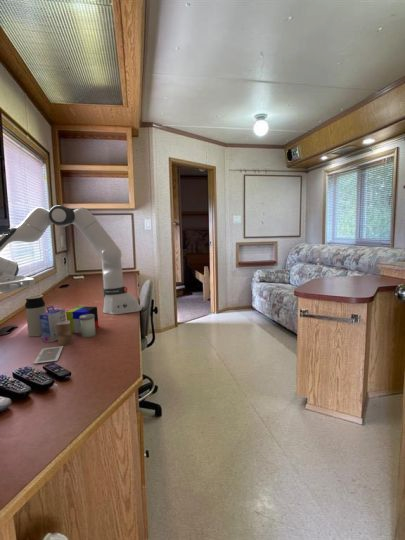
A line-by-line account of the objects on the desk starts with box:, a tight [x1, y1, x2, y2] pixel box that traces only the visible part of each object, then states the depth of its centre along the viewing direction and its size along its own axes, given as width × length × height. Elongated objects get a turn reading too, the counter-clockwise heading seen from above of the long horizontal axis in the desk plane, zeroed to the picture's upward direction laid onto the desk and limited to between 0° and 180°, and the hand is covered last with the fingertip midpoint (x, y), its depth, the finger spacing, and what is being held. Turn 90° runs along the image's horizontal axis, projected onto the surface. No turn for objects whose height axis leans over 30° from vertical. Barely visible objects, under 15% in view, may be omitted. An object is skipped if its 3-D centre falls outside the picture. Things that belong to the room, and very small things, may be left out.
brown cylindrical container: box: [56, 320, 73, 347], centre depth 131 cm, size 5×5×9 cm
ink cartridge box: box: [39, 305, 67, 343], centre depth 137 cm, size 10×6×14 cm, turn 161°
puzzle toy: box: [65, 306, 99, 334], centre depth 149 cm, size 10×10×10 cm
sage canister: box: [79, 314, 96, 338], centre depth 140 cm, size 6×6×9 cm
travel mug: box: [24, 294, 47, 337], centre depth 144 cm, size 8×8×18 cm
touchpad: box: [33, 345, 64, 364], centre depth 118 cm, size 8×15×2 cm, turn 16°
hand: (19, 285), depth 149 cm, fingers closed
